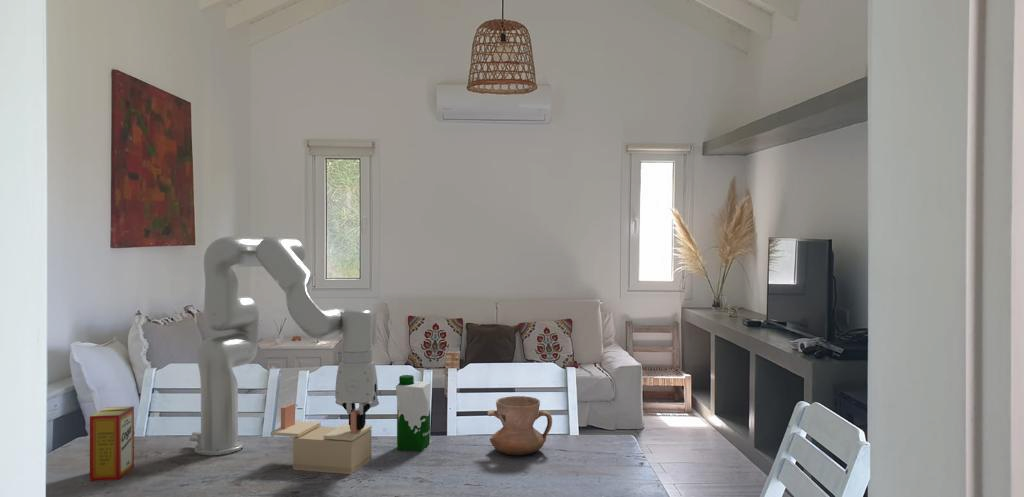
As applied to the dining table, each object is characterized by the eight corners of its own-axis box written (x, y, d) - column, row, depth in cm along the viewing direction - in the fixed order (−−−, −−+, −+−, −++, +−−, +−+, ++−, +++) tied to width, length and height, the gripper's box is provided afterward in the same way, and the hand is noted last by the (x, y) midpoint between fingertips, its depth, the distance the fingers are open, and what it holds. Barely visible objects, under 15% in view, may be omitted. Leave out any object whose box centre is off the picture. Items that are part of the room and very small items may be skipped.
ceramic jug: (486, 459, 184) (486, 406, 184) (488, 443, 198) (488, 394, 198) (553, 459, 184) (553, 406, 184) (551, 444, 198) (551, 394, 198)
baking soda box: (118, 479, 167) (118, 413, 167) (89, 481, 166) (89, 414, 166) (133, 467, 177) (133, 404, 177) (106, 468, 176) (106, 405, 176)
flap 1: (270, 435, 177) (270, 410, 177) (294, 423, 188) (294, 400, 188) (298, 437, 175) (298, 412, 175) (320, 425, 186) (320, 402, 186)
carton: (292, 469, 175) (292, 438, 175) (316, 455, 187) (316, 425, 187) (351, 474, 172) (351, 442, 172) (371, 459, 183) (371, 429, 183)
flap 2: (323, 438, 174) (323, 413, 173) (344, 426, 185) (344, 403, 185) (352, 440, 172) (352, 415, 172) (371, 428, 183) (371, 404, 183)
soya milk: (403, 442, 200) (404, 373, 200) (433, 444, 198) (434, 374, 198) (392, 450, 191) (392, 378, 191) (423, 453, 189) (424, 380, 189)
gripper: (322, 358, 176) (322, 430, 176) (379, 361, 172) (379, 434, 172) (336, 354, 183) (336, 423, 183) (391, 356, 180) (390, 426, 180)
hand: (357, 428), depth 178 cm, fingers closed
